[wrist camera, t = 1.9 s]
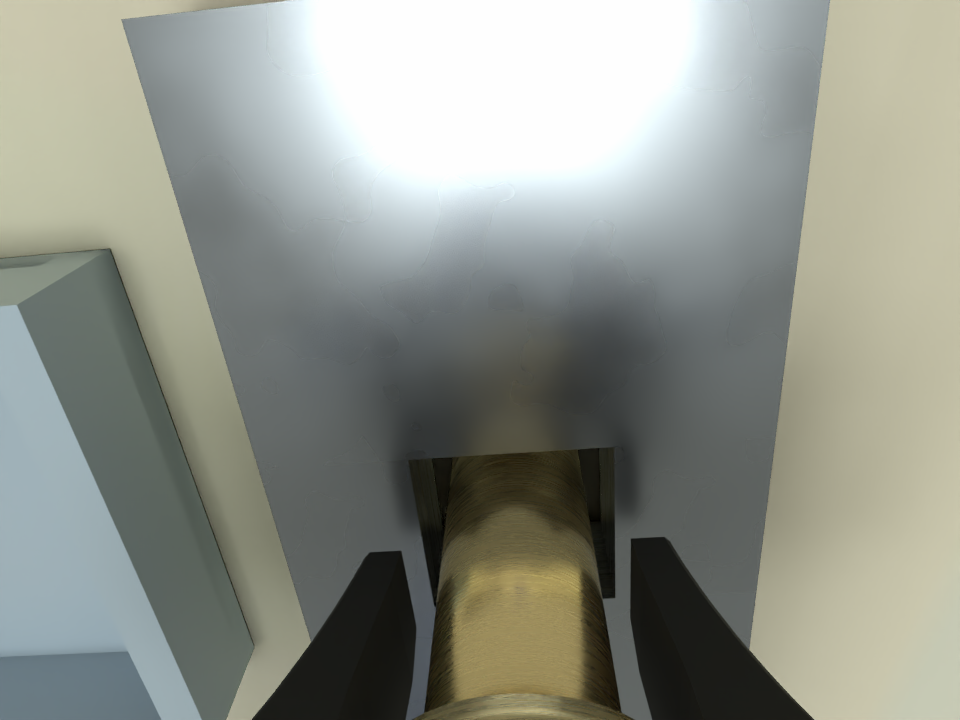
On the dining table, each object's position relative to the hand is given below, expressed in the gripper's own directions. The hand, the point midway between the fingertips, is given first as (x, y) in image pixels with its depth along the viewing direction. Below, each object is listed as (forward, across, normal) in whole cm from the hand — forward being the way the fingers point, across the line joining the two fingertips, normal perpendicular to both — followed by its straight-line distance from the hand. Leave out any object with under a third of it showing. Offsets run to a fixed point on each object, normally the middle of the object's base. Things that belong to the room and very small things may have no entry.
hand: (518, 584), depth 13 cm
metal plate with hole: (+4, 0, 0) cm, 4 cm away
